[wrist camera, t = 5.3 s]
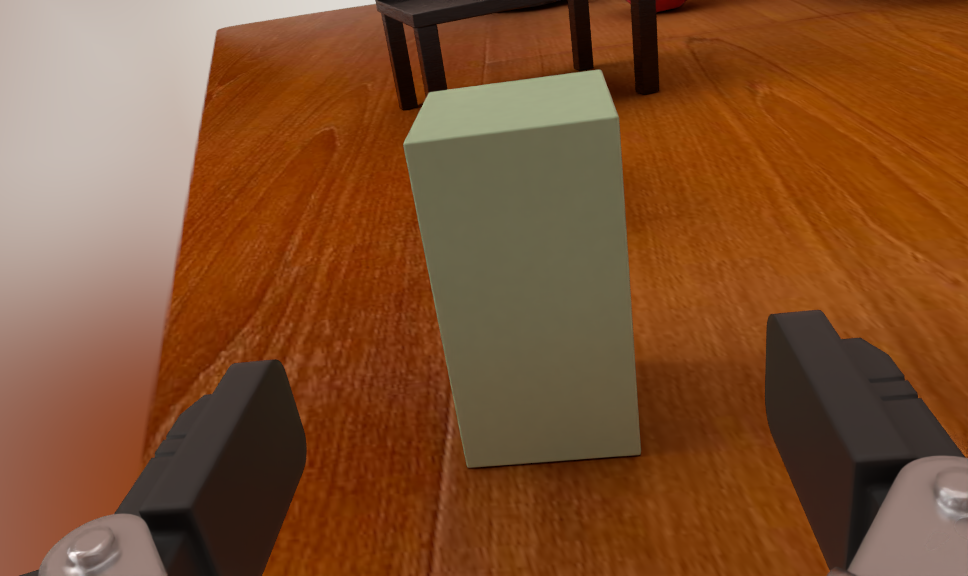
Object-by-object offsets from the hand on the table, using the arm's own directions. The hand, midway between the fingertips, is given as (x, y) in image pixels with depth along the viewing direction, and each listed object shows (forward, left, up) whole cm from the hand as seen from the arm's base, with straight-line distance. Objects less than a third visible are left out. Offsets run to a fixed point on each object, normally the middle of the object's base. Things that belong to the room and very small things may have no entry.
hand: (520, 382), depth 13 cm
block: (+3, +7, -6) cm, 10 cm away
